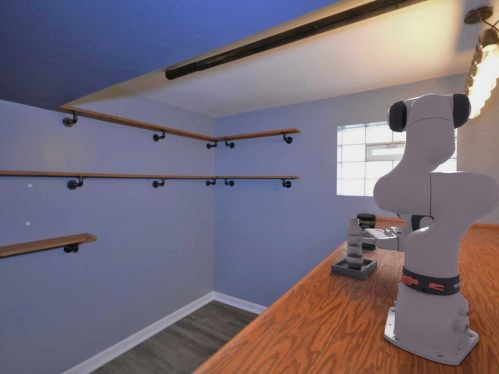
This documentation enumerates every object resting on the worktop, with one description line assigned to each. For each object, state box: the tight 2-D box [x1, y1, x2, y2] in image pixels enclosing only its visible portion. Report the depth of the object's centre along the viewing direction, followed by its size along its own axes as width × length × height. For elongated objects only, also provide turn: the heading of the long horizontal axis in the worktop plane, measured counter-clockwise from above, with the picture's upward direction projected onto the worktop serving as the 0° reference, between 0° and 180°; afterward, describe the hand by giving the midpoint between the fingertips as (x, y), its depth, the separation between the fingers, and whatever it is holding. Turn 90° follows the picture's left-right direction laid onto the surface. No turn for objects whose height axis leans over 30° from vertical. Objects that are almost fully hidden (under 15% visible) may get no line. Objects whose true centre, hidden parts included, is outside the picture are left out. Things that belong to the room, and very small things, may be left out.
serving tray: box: [330, 256, 378, 281], centre depth 104 cm, size 17×12×3 cm
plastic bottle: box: [345, 218, 364, 269], centre depth 103 cm, size 6×7×20 cm
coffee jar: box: [356, 212, 378, 250], centre depth 136 cm, size 10×8×19 cm
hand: (358, 237), depth 103 cm, fingers open, 8 cm apart
